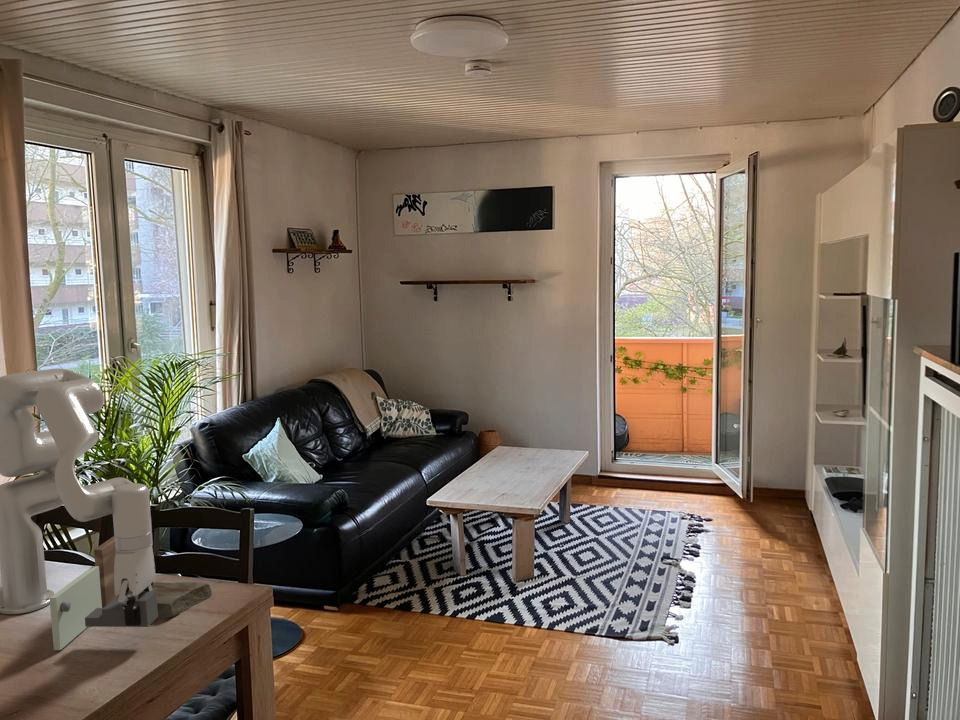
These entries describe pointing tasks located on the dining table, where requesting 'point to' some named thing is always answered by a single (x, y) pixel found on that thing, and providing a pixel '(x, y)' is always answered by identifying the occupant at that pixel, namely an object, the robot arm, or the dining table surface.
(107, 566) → the wood grain plank
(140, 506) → the robot arm
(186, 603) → the marble piece
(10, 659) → the dining table surface
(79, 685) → the dining table surface
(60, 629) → the door
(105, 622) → the grey stepped block
